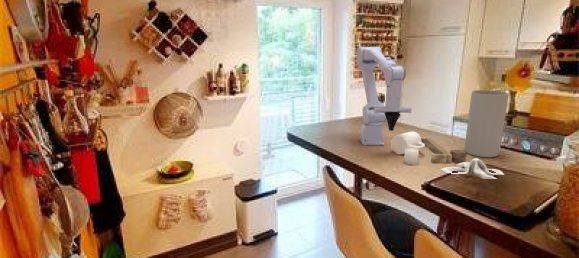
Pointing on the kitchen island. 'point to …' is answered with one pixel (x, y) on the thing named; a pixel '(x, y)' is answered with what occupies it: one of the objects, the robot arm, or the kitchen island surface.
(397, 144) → the mug
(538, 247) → the kitchen island surface
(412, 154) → the small white cylinder
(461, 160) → the walnut block
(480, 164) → the cloth
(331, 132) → the kitchen island surface
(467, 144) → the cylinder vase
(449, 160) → the dock
